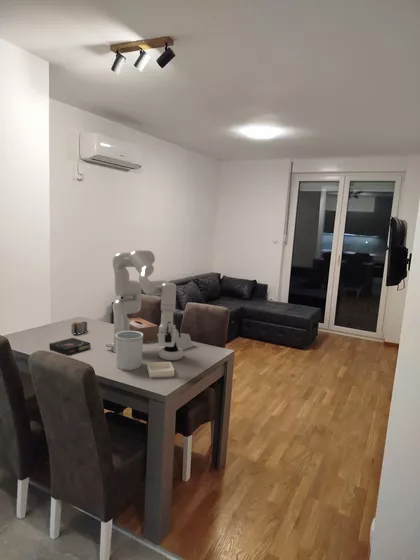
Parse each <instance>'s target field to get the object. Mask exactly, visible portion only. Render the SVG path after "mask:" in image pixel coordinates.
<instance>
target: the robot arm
mask: <svg viewBox="0 0 420 560" xmlns="http://www.w3.org/2000/svg"><path fill="white" fill-rule="evenodd" d="M155 260H156V258H155V255H154V253H153V252H152V251H151V250H142V249H141V250H134V251H132V252H120V253H119V252H118V253H116V254H115V255H114V256H113V258H112V268H113V272H114V293H115V295H116V296H117V297H120V298H119V299H116V300H115V301H114V302H113V303H112V305H111V306H112V308H111V309H112V312H113V341H112V342H110V343H105V347H108V348H110V351H111V352H113V353H116V338H115V334H116V333H118V332H122V331H130V320H129V319H130V317H128V316H127V315H132V314H136V313H139V312H140V311H141V308H142V291H143V293H145V294H146V295H147V296H149V297H150V296H153V297H154V296H159V295H160V296H161V297H160V311H161V314H160V315H161V317H160V325H162V328H163V330H165V329H166V335H165V343H168V342H171V330H172V329H173V325H174V311H176V301H177V300H176V299H177V284H175V283H173V282H170V281H167V280H164V279H163V280H149V278H148V277H150V276H152V275H153V273H154V271H155V268H154V265H153V264H154V263H155ZM127 268H135V270H136V271H137V272H138V274H139V275H138V281H137V280H135V279H133V280H131V279H130V272H129V270H128V269H127ZM121 297H123V298H121ZM125 297H126V298H125ZM128 297H129V298H128ZM171 327H172V328H171ZM167 328H168V329H167ZM167 330H168V331H167Z"/></svg>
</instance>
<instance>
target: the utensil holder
mask: <svg viewBox="0 0 420 560" xmlns="http://www.w3.org/2000/svg"><path fill="white" fill-rule="evenodd" d="M115 338H116V352H115V366H116V368H117V369H120V370H124V371H125V370H126V371H127V370H128V371H129V370H130V371H131V370H137V369H139V368H140V367H141V366H142V364H143V363H142V362H143V343H144V342H143V333H141V332H138V331H122V332H118V333H116V334H115Z"/></svg>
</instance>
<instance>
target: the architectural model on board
mask: <svg viewBox="0 0 420 560" xmlns="http://www.w3.org/2000/svg"><path fill="white" fill-rule="evenodd" d="M85 331H87V332H88V321H85V320H84V321H81V322H78V321H75V322H72V323H71V334H73V335H72V336H75V335H76V334H78V333H81V334H83V333H82V332H85ZM74 333H76V334H74ZM85 333H86V332H85ZM71 334H70V335H71ZM78 335H79V334H78Z"/></svg>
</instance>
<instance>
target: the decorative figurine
mask: <svg viewBox="0 0 420 560" xmlns="http://www.w3.org/2000/svg"><path fill="white" fill-rule="evenodd" d="M181 334H182V333H180V332H179V330H178V329H177V328H175V344H174V346H173V347H167V346H163V347H162V348H161V349H160V350H159V351H158V356H159V358H161V359H162V360H164V361H169V362H172V361H177V360H180V359H182V358H183V357H184V355H185V353H184V350H182V349H180V348H178V347H177V344H176V341H177V340H178V338H179V336H180V337H181Z"/></svg>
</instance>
